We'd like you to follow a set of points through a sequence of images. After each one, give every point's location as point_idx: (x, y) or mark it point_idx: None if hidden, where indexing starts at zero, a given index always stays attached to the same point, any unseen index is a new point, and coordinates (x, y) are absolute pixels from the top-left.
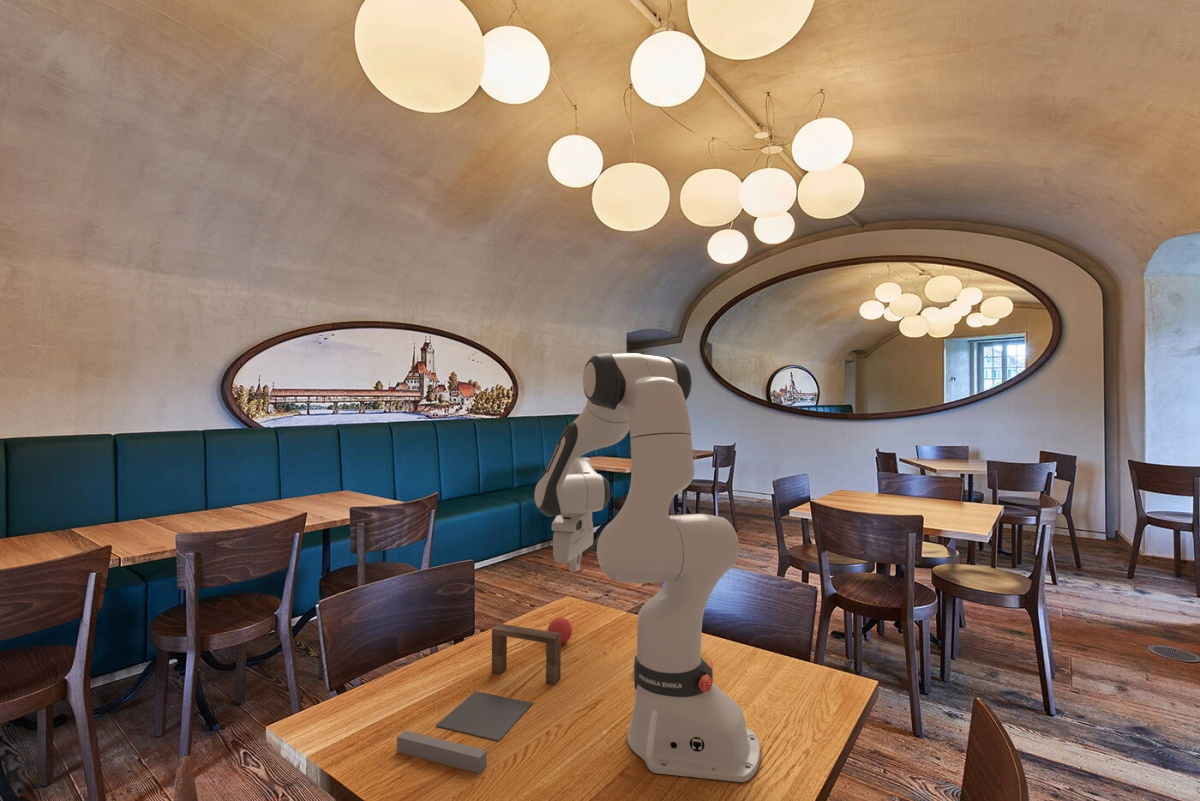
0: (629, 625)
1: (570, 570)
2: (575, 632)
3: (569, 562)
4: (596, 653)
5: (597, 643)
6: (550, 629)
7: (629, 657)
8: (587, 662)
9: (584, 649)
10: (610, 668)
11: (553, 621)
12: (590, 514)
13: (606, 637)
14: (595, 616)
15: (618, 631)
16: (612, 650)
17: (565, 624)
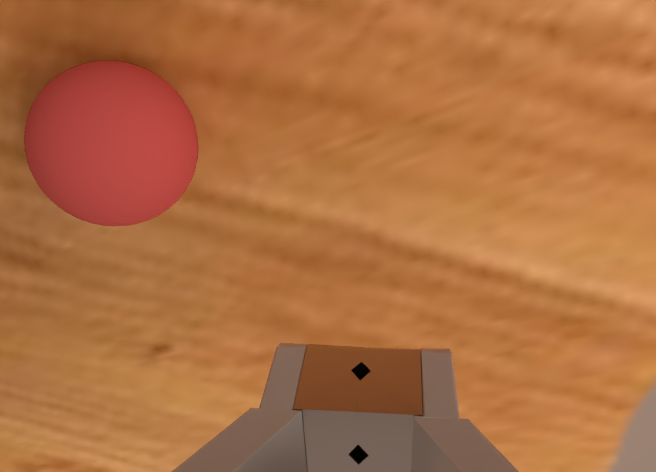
0: (513, 378)
1: (279, 358)
2: (320, 149)
3: (203, 463)
4: (135, 321)
5: (235, 297)
6: (28, 114)
7: (172, 435)
8: (38, 311)
9: (144, 263)
10: (49, 397)
11: (43, 133)
12: None
13: (321, 316)
14: (618, 178)
15: None
16: (198, 370)
17: (75, 214)
